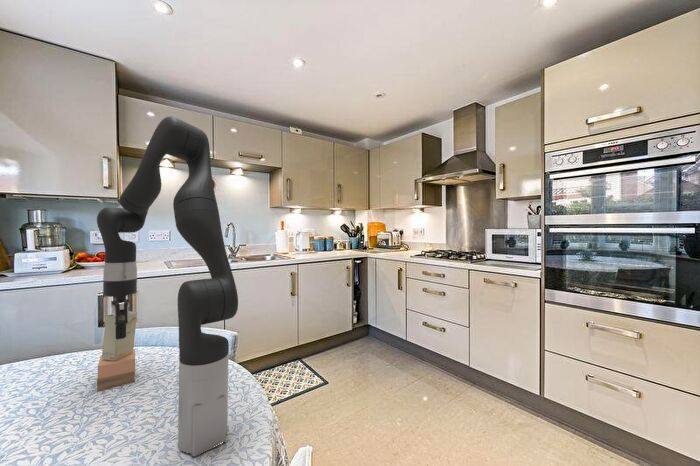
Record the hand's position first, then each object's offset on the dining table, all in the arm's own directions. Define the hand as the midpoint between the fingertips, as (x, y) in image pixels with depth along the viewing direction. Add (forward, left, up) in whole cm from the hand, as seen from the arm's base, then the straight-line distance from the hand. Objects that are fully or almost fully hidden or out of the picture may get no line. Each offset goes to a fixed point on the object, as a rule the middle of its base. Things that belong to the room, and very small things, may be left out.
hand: (119, 334), depth 82 cm
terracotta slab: (0, 0, -10) cm, 10 cm away
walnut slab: (0, +1, -14) cm, 14 cm away
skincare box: (+1, 0, -6) cm, 7 cm away
